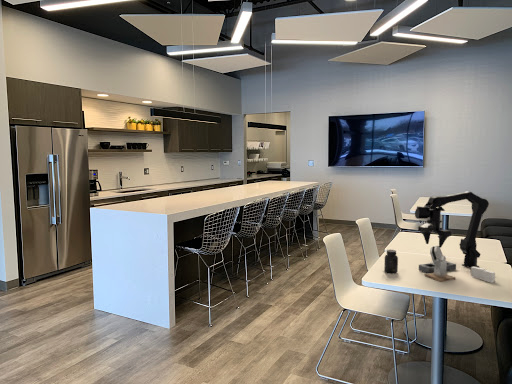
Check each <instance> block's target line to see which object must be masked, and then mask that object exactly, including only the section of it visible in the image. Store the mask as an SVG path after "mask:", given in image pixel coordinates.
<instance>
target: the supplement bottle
mask: <svg viewBox="0 0 512 384" xmlns="http://www.w3.org/2000/svg"><path fill="white" fill-rule="evenodd" d="M383 266H384V268H383V270H384V273H385V274H389V275H392V274H393V275H395V274H397V273H398V272H399V271H398V270H399V267H398V266H399V256H397V250H396V249H395V250H394V249H387V250H386V254H385V255H384V265H383Z"/></svg>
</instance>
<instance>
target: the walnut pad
mask: <svg viewBox="0 0 512 384" xmlns="http://www.w3.org/2000/svg"><path fill="white" fill-rule="evenodd" d="M424 276H425V277H427V278H430V279H432V280H435V281H437V282H440V283H441V282H448V281H455V280H456V277H455V276H452V275H451V274H450V275H449V274H447V273H446V277H438V276H435V275H434V273H429V274H428V273H425V274H424Z"/></svg>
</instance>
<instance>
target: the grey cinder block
mask: <svg viewBox="0 0 512 384" xmlns="http://www.w3.org/2000/svg"><path fill="white" fill-rule="evenodd" d="M455 270H457V263H453V262H450V261H447V266H446V272H448V271H455ZM418 271H420V272H423V273H425V274H430V273H434V263H433V262H430V263H429V262H428V263H421V264H418Z"/></svg>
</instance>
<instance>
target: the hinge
mask: <svg viewBox="0 0 512 384" xmlns="http://www.w3.org/2000/svg"><path fill="white" fill-rule="evenodd" d="M429 254H430V256H431V260H432V263H434V262H435V260H439V259H441V260H444V261H447V258H446V255H445V254H443V253H442V248H440V247H439V245H435V246H431V247H430V249H429Z"/></svg>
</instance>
